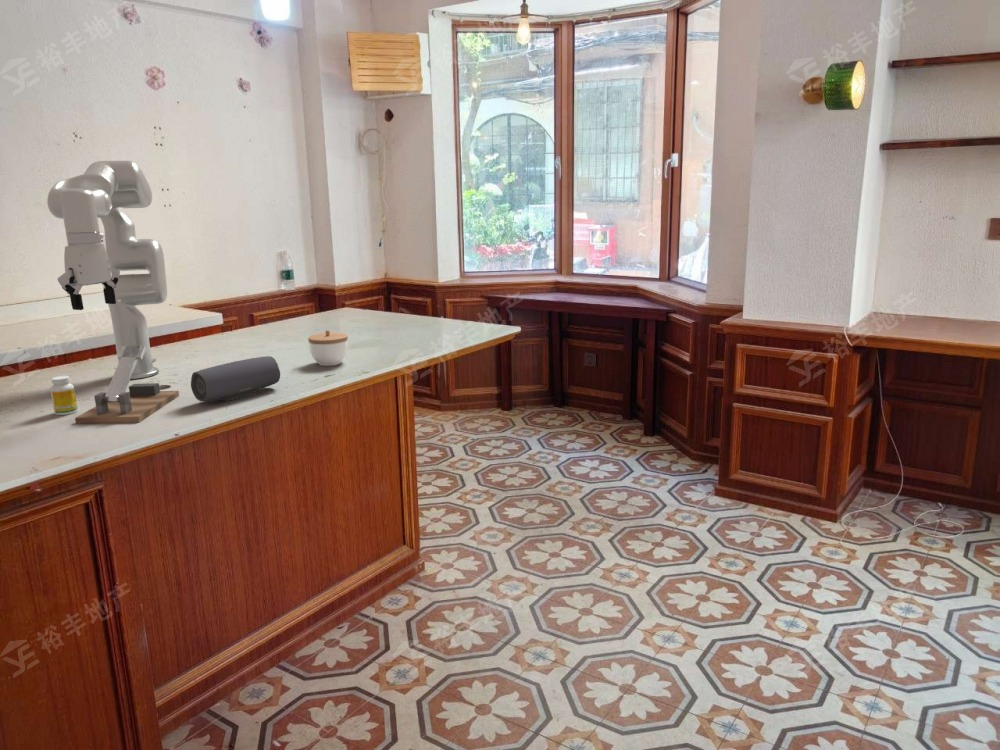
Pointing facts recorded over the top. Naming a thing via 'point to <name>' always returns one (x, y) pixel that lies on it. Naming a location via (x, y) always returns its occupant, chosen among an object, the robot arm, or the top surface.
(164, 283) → the robot arm
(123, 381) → the lever
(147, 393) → the catch block
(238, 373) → the bluetooth speaker
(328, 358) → the lidded bowl
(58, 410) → the supplement bottle
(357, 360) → the top surface
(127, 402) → the walnut board
